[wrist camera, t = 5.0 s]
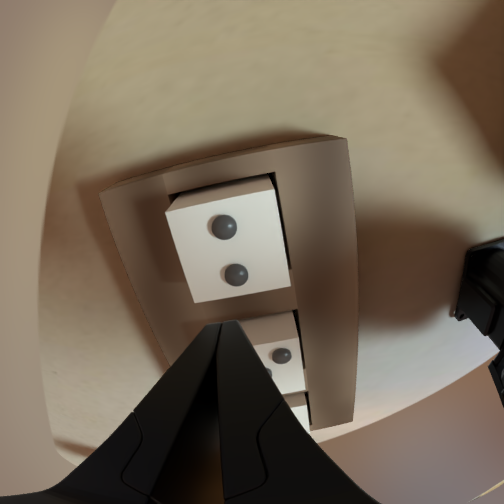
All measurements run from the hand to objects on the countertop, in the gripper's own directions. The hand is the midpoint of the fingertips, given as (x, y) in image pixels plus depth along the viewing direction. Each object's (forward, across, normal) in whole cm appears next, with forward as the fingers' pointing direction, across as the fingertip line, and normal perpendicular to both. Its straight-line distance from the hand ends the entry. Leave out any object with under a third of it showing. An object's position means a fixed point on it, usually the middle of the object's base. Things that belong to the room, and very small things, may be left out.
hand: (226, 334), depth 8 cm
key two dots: (+8, 0, 0) cm, 8 cm away
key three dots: (+9, 0, +8) cm, 11 cm away
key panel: (+10, 0, +8) cm, 12 cm away
